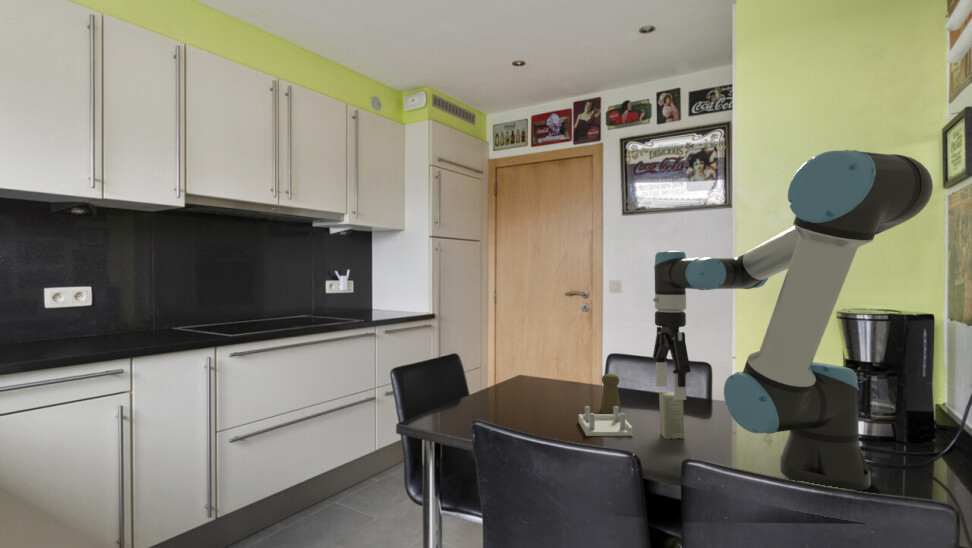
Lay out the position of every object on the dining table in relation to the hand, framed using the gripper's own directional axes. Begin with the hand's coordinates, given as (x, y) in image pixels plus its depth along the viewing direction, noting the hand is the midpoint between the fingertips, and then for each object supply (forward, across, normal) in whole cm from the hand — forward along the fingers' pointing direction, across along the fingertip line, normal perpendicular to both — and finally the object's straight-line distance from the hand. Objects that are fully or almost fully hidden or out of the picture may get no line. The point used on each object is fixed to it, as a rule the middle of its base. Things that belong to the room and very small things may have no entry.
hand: (670, 392), depth 124 cm
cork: (+12, -24, -10) cm, 29 cm away
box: (+11, +1, 0) cm, 11 cm away
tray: (+11, -6, -16) cm, 20 cm away
